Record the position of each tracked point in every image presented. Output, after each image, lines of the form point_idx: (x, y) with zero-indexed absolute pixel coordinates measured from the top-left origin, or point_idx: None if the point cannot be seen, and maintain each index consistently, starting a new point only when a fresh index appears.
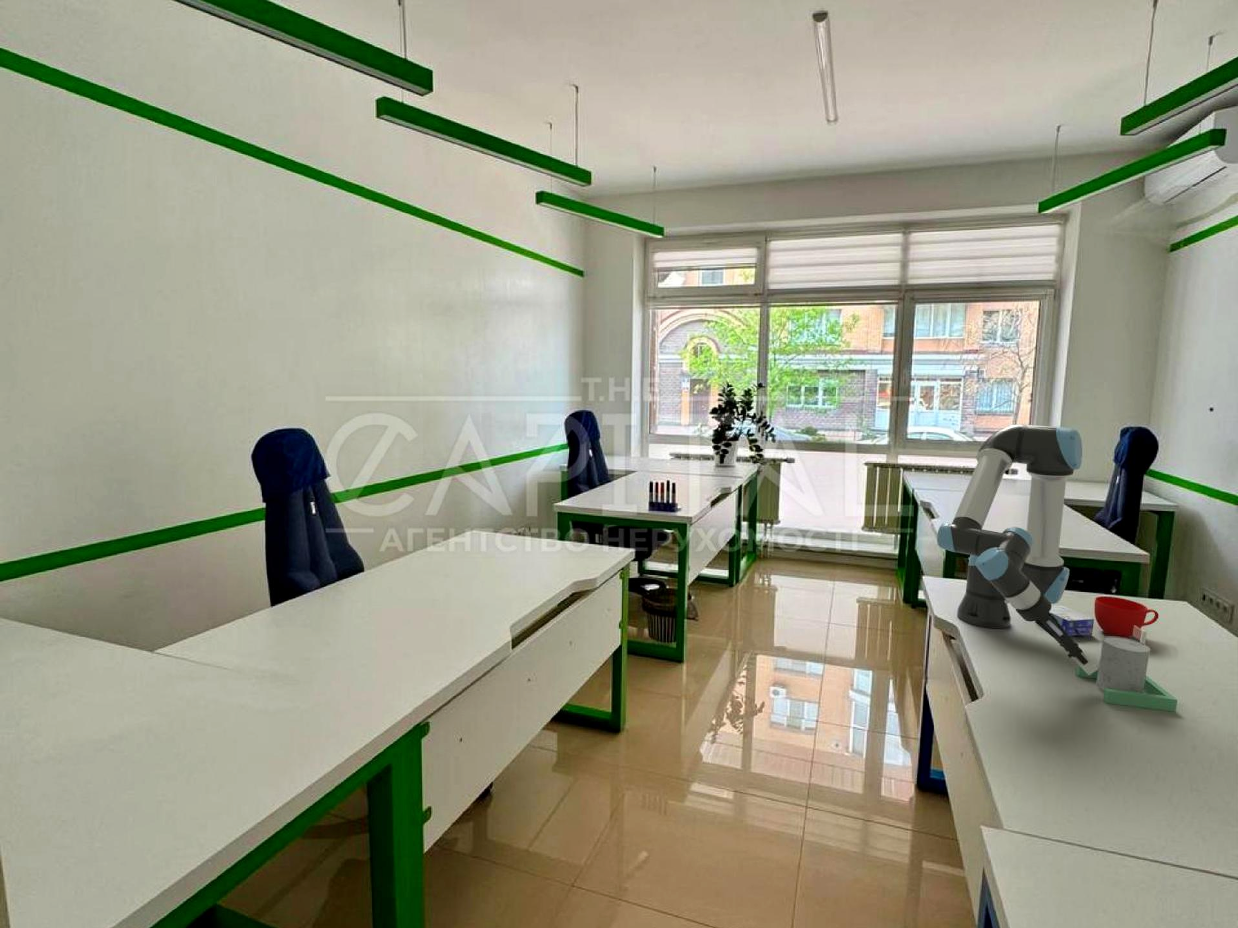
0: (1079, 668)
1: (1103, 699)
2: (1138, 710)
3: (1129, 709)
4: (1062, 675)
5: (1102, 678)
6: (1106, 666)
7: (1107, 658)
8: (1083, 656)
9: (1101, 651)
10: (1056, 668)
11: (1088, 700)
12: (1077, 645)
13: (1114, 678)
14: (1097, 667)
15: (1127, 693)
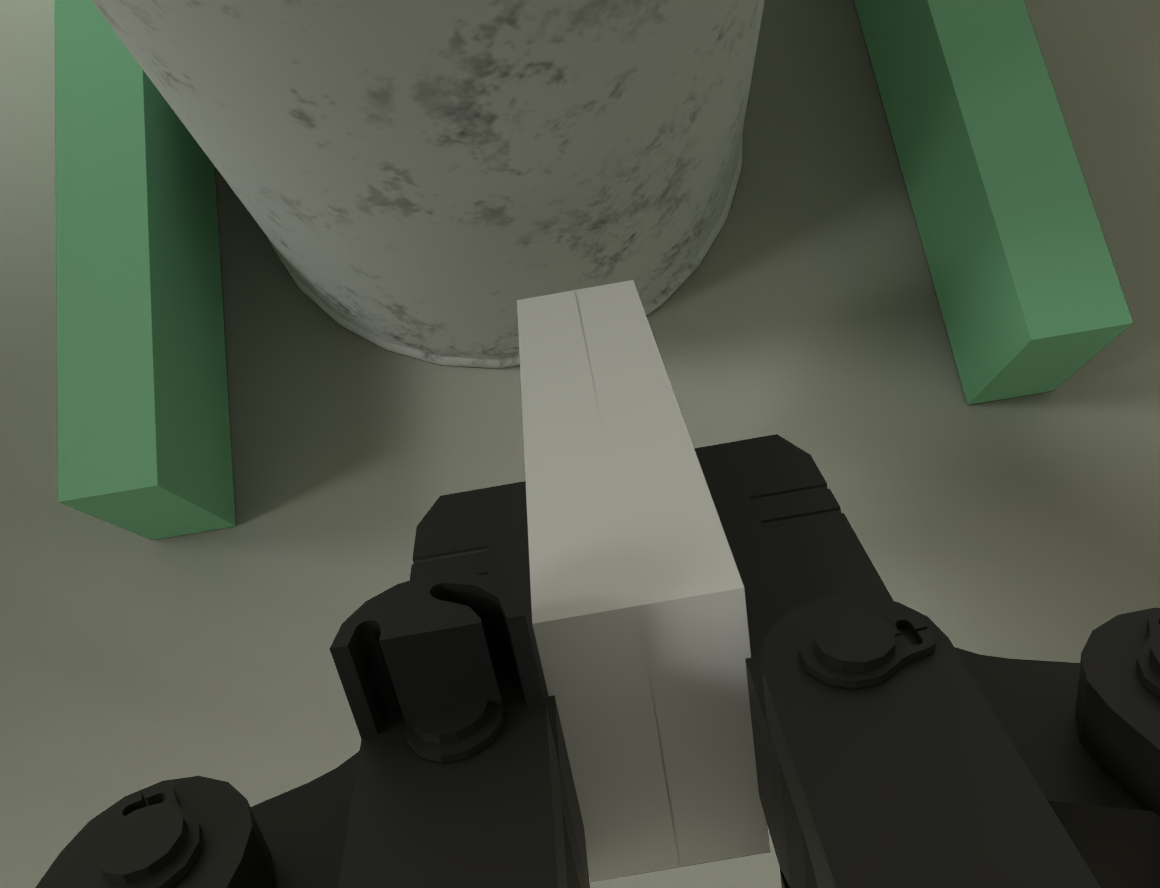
0: (179, 498)
1: (972, 401)
2: (1066, 89)
3: (1100, 175)
4: (295, 758)
5: (579, 274)
6: (607, 124)
7: (602, 5)
8: (857, 547)
9: (297, 24)
10: (37, 784)
11: (1111, 608)
12: (526, 632)
13: (720, 119)
14: (144, 239)
15: (1044, 83)
